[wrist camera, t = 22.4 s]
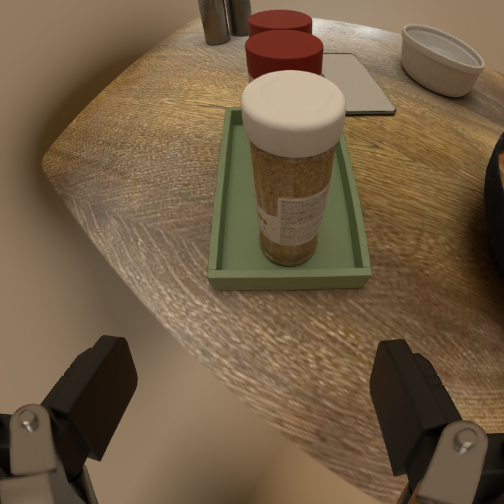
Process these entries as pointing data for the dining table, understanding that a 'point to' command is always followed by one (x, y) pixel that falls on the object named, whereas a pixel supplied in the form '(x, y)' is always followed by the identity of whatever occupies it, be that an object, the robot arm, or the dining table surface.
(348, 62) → the smartphone
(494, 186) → the bowl
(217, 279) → the tray
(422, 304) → the dining table surface
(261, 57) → the spice bottle
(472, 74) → the ramekin
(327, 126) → the sprinkles bottle
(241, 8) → the grey tin
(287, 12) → the spice bottle
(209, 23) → the grey tin
